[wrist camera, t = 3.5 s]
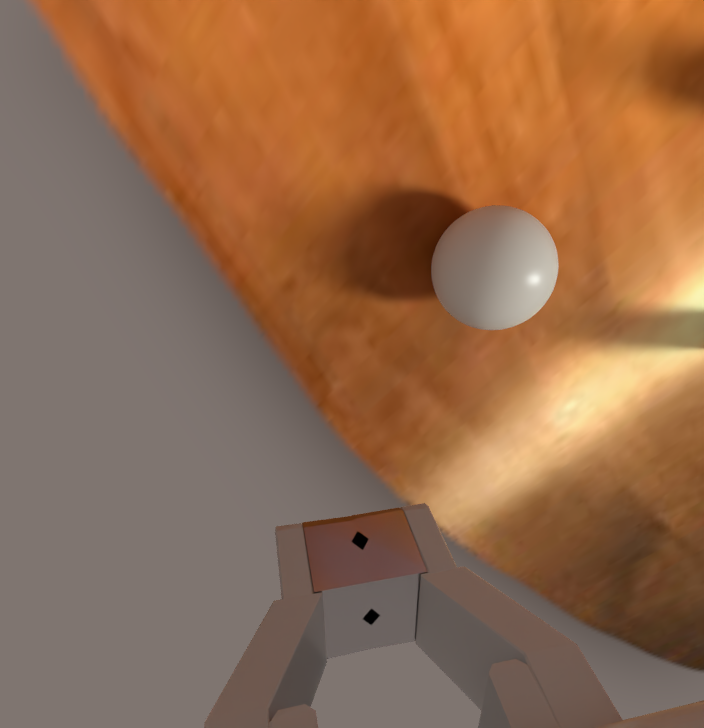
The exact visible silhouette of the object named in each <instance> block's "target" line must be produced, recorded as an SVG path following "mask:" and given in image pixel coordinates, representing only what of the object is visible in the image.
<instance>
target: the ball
mask: <svg viewBox="0 0 704 728" xmlns="http://www.w3.org/2000/svg"><path fill="white" fill-rule="evenodd" d="M557 275H558V256H557V250H556V247H555V244H554V241H553V239H552V237H551V235H550V233H549V232H548V231H547V229H546V228H545V227H544V226H543V225H542V224H541V222H540V221H539V220H537V219H536V218H535V217H533V216H532V215H530V214H529V213H527V212H525V211H523V210H520V209H517V208H514V207H510V206H501V205H492V206H485V207H481V208H478V209H475V210H472V211H470V212H468V213H466V214H464V215H462V216H461V217H459V218H458V219H457V220H455V221H454V222H453V223H452V224H451V225H450V226H449V227H448V228H447V229H446V231H445V232H444V233H443V235H442V236H441V238H440V239H439V241H438V243H437V245H436V248H435V251H434V254H433V258H432V264H431V277H432V283H433V287H434V290H435V293H436V295H437V297H438V299H439V301H440V302H441V304H442V305H443V307H444V308H445V309H446V310H447V312H448V313H449V314H451V315H452V316H453V317H454V318H456V319H457V320H458V321H460V322H462V323H464V324H466V325H468V326H471V327H474V328H478V329H483V330H501V329H507V328H510V327H513V326H516V325H518V324H521V323H523V322H524V321H526V320H528V319H529V318H531V317H532V316H533V315H535V314H536V313H537V312H538V311H539V310H540V309H541V308H542V307H543V306H544V304H545V303H546V302H547V300H548V299H549V297H550V295H551V293H552V291H553V289H554V286H555V283H556V279H557Z"/></svg>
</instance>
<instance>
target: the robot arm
mask: <svg viewBox="0 0 704 728" xmlns="http://www.w3.org/2000/svg"><path fill="white" fill-rule="evenodd" d="M275 531H276V532H275V535H276V545H277V555H278V566H279V576H280V586H281V596H282V599H281V600H276V601H274V602H273V603H272V605H271V607H270V609H269V610H268V612H267V614H266V616H265V618H264V619H263V621H262V623H261V624H260V627H259V628H258V630H257V631H256V633H255V635H254V637H253V639H252V640H251V642H250V644H249V646H248V647H247V649H246V651H245V653H244V654H243V656H242V658H241V660H240V661H239V663H238V665H237V667H236V668H235V670H234V672H233V674H232V675H231V677H230V679H229V681H228V683H227V684H226V686H225V688H224V689H223V691H222V693H221V695H220V696H219V699H218V700H217V702H216V704H215V705H214V707H213V709H212V711H211V712H210V714H209V716H208V718H207V720H206V721H205V724H204V728H318V724H317V717H316V711H315V710H314V709H312V708H310V707H311V704H312V702H313V699H314V696H315V693H316V690H317V688H318V685H319V682H320V680H321V677H322V674H323V671H324V669H325V666H326V663H327V659H328V658H332V657H337V656H341V655H346V654H350V653H354V652H359V651H363V650H367V649H371V648H377V647H383V646H390V645H395V644H401V643H406V642H413V641H416V644H417V645H418V646H419V647H420V648H421V649H422V650H423V651H424V652H425V653H426V654H427V655H428V657H429V658H430V659H431V660H432V661H433V662H434V663H436V665H437V666H438V667H439V668H440V669H441V670H442V671H443V672H444V673H445V674H446V675H447V676H448V677H449V678H450V679H451V680H452V681H453V682H454V683H455V684H456V685H457V686H458V687H459V688H460V689H461V690H462V691H463V692H464V693H465V694H466V695H467V696H468V697H469V698H470V699H471V700H472V701H473V702H474V703H475V704H476V705H477V707H478V708H479V709H480V710H481V716H480V721H479V726H478V728H704V701H700V702H696V703H692V704H688V705H684V706H679V707H675V708H672V709H667V710H663V711H659V712H655V713H651V714H647V715H643V716H638V717H635V718H630V719H626V720H622V718H621V717H620V715H619V713H618V712H617V710H616V708H615V707H614V705H613V703H612V702H611V700H610V698H609V697H608V695H607V694H606V692H605V690H604V688H603V687H602V685H601V683H600V682H599V680H598V679H597V677H596V675H595V674H594V672H593V670H592V669H591V667H590V665H589V664H588V662H587V660H586V659H585V657H584V655H583V654H582V652H581V650H580V649H579V647H578V645H577V644H576V643H574V642H573V641H571V640H570V639H569V638H567V637H566V636H564V635H563V634H561V633H560V632H558V631H557V630H556V629H554V628H552V627H551V626H550V625H548V624H547V623H545V622H544V621H543V620H541V619H540V618H538V617H537V616H535V615H534V614H532V613H531V612H530V611H528V610H527V609H525V608H524V607H522V606H521V605H519V604H518V603H516V602H515V601H514V600H512V599H511V598H509V597H508V596H506V595H505V594H503V593H502V592H500V591H499V590H498V589H496V588H495V587H493V586H492V585H490V584H489V583H488V582H486V581H485V580H483V579H482V578H480V577H479V576H477V575H476V574H474V573H473V572H472V571H470V570H469V569H467V568H466V567H458V568H457V567H456V564H455V562H454V560H453V558H452V556H451V554H450V551H449V549H448V547H447V545H446V543H445V541H444V539H443V536H442V534H441V532H440V530H439V528H438V526H437V523H436V521H435V519H434V517H433V515H432V513H431V511H430V508H429V506H427V505H426V504H425V503H424V504H418V505H412V506H406V507H401V508H394V509H388V510H382V511H376V512H370V513H364V514H359V515H352V516H348V517H341V518H333V519H326V520H318V521H312V522H304V523H302V524H301V523H300V524H292V525H284V526H277V527H276V530H275Z"/></svg>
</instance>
